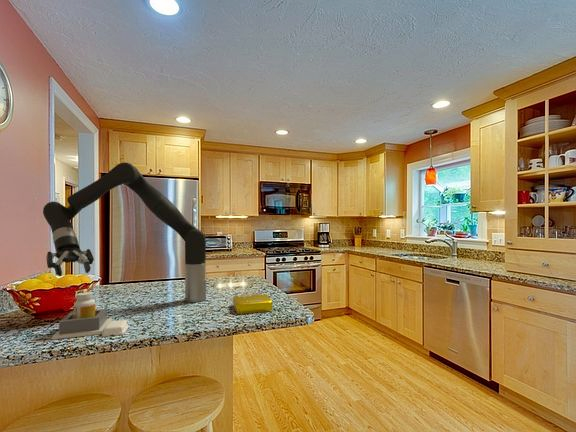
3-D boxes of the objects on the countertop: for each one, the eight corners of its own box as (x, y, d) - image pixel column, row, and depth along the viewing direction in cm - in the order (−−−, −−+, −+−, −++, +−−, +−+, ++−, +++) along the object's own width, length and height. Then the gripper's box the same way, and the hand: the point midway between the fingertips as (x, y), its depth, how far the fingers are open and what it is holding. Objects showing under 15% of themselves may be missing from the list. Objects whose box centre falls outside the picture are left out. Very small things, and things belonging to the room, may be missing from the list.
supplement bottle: (99, 323, 107) (99, 291, 107) (87, 329, 101) (88, 295, 101) (81, 323, 107) (81, 291, 107) (68, 329, 100) (69, 295, 101)
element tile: (237, 315, 119) (237, 303, 119) (232, 305, 133) (232, 294, 133) (273, 311, 123) (273, 300, 124) (265, 302, 138) (265, 292, 138)
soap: (123, 335, 98) (123, 326, 99) (100, 338, 96) (100, 329, 97) (129, 326, 107) (129, 318, 107) (108, 328, 105) (108, 320, 105)
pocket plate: (111, 320, 112) (112, 307, 113) (103, 333, 99) (103, 318, 99) (67, 325, 108) (67, 311, 108) (51, 339, 94) (52, 323, 95)
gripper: (44, 235, 112) (52, 269, 104) (88, 234, 123) (98, 264, 115) (41, 249, 115) (48, 282, 107) (84, 246, 126) (93, 276, 118)
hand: (74, 273), depth 111 cm, fingers open, 8 cm apart
